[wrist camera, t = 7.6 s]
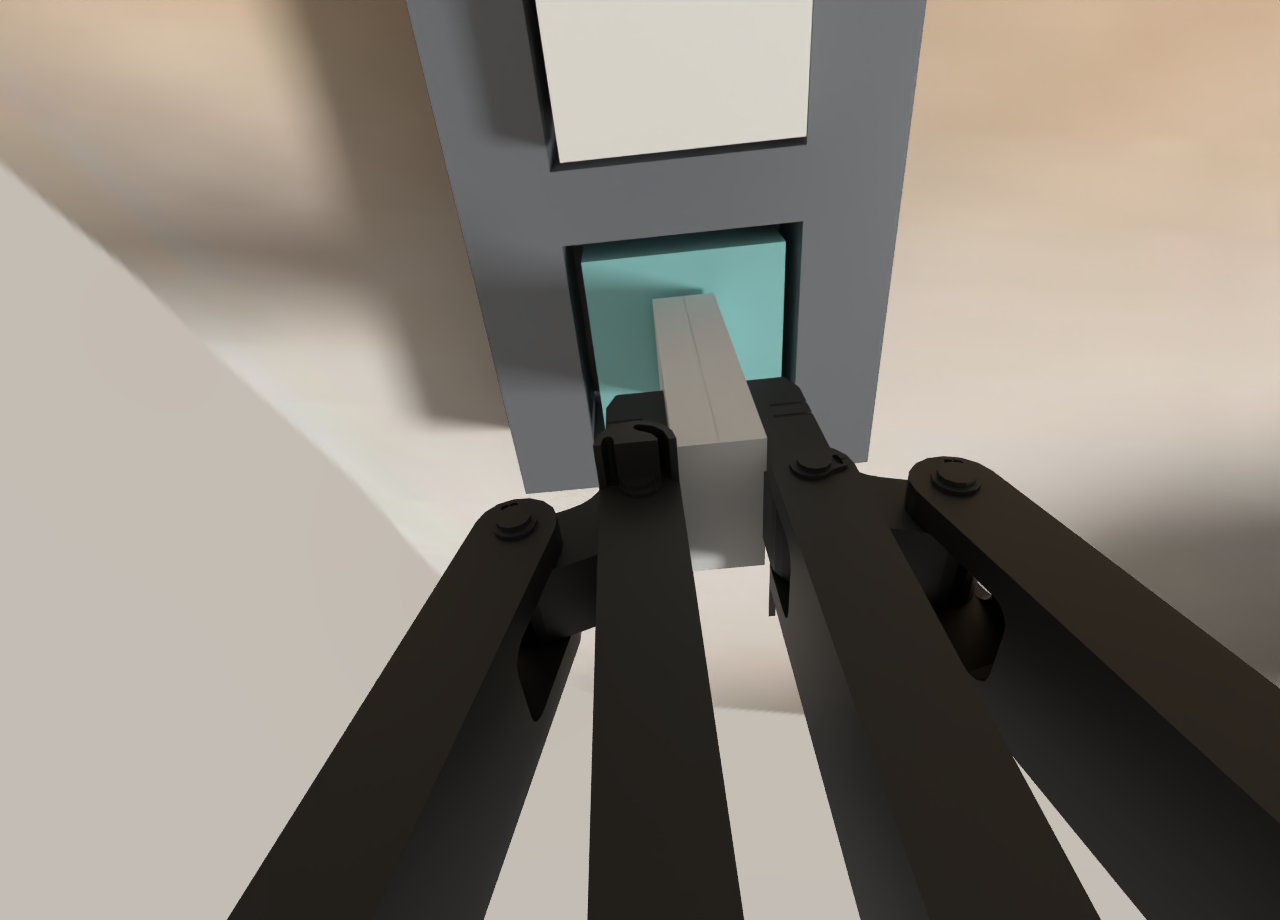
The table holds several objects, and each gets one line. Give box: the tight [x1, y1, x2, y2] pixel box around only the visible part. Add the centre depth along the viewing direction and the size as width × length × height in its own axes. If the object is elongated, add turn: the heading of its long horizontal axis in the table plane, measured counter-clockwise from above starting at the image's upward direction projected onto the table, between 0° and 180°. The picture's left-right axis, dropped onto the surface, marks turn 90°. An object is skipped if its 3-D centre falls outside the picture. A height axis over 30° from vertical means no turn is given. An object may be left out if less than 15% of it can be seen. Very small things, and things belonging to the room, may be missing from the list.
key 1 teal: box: [581, 224, 786, 429], centre depth 17 cm, size 5×5×2 cm
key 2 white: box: [535, 0, 813, 163], centre depth 12 cm, size 5×5×2 cm
